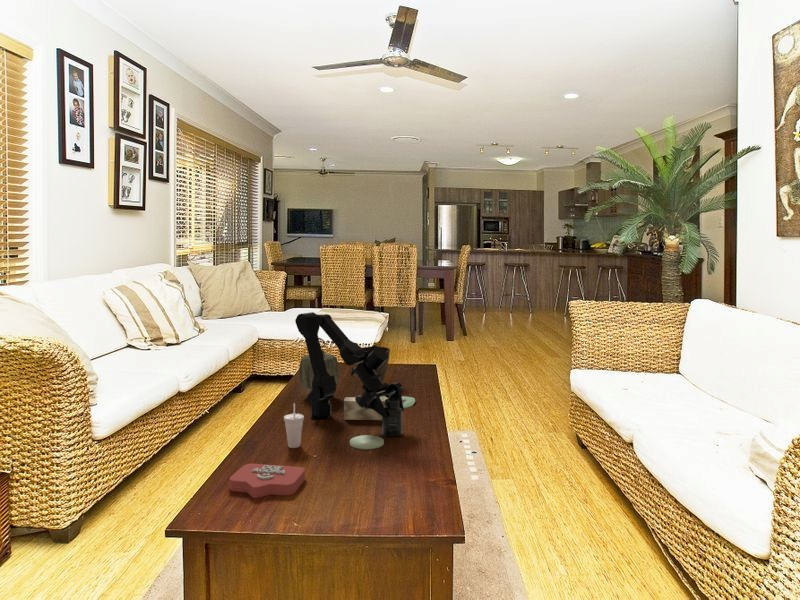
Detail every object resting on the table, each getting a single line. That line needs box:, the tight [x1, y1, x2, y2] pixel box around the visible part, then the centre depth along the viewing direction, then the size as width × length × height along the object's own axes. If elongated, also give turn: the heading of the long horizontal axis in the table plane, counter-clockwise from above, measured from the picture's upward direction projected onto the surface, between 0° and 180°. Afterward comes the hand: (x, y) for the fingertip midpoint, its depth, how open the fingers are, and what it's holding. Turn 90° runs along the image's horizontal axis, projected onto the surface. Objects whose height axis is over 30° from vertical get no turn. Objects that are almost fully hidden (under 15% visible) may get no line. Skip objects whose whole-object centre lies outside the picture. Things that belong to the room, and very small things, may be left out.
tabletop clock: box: [299, 337, 339, 398], centre depth 240 cm, size 14×9×25 cm, turn 58°
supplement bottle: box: [381, 398, 403, 438], centre depth 195 cm, size 7×7×12 cm
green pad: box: [349, 434, 385, 450], centre depth 187 cm, size 11×11×1 cm
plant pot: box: [361, 346, 391, 383], centre depth 263 cm, size 15×15×16 cm
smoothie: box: [283, 403, 305, 449], centre depth 183 cm, size 6×6×14 cm
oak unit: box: [343, 396, 388, 421], centre depth 213 cm, size 16×5×7 cm, turn 90°
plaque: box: [229, 463, 306, 499], centre depth 154 cm, size 18×4×15 cm
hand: (395, 414), depth 194 cm, fingers open, 9 cm apart
